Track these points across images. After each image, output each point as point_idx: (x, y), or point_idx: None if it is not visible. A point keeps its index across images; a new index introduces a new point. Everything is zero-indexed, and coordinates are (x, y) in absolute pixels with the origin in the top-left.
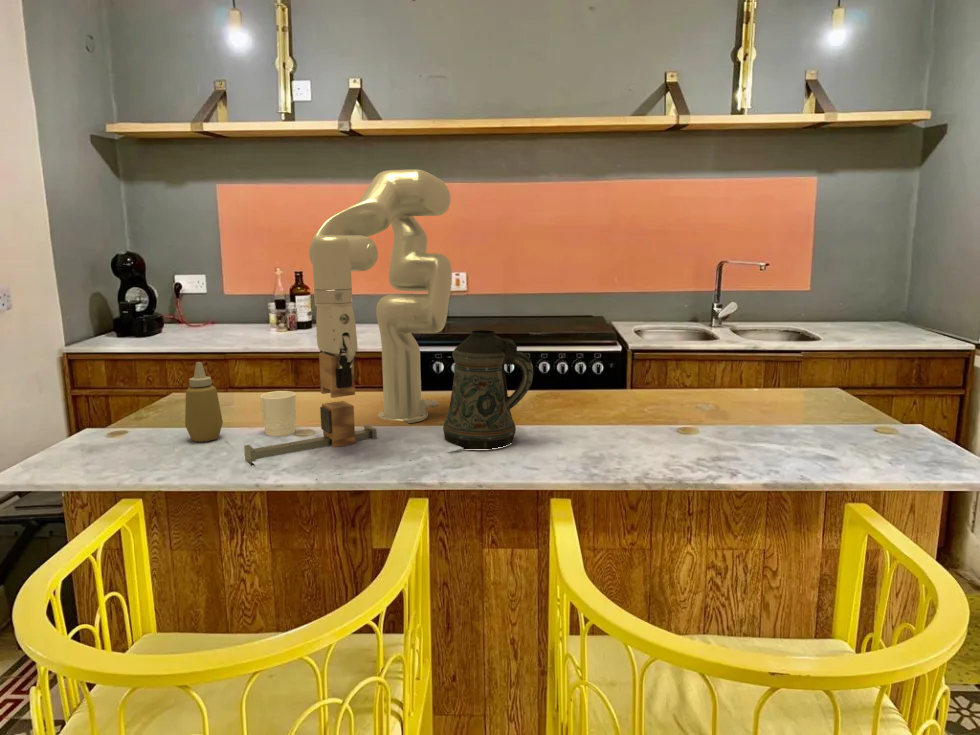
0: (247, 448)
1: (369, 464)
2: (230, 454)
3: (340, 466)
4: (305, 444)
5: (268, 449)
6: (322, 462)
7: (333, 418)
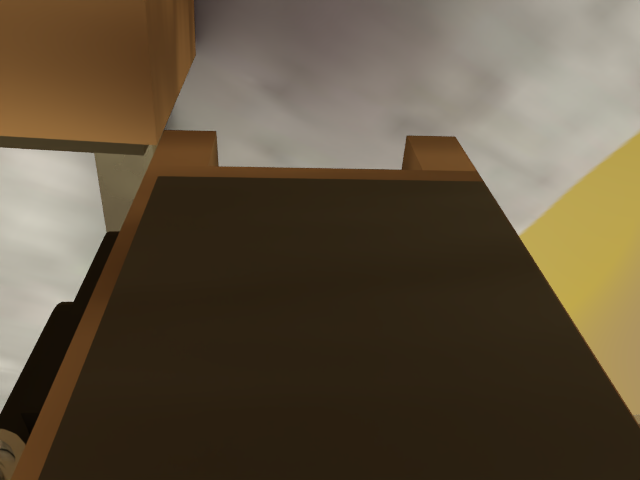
0: None
1: (499, 9)
2: (16, 353)
3: (421, 125)
4: None
5: None
6: (319, 157)
7: (168, 107)
